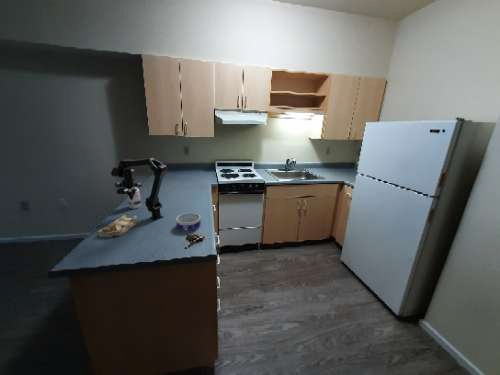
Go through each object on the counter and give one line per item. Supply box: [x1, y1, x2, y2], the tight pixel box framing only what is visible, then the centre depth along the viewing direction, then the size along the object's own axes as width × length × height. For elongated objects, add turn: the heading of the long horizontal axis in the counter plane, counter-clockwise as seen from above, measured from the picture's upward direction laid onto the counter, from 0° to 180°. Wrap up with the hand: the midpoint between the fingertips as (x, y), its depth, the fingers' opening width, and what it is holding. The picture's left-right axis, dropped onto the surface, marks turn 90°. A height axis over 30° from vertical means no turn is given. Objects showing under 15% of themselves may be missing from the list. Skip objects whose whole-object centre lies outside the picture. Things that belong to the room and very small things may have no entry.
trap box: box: [97, 214, 138, 238], centre depth 135 cm, size 24×12×3 cm, turn 173°
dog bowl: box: [175, 212, 202, 232], centre depth 140 cm, size 15×15×6 cm
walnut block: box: [101, 223, 117, 232], centre depth 128 cm, size 6×4×4 cm, turn 173°
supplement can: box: [127, 186, 142, 209], centre depth 165 cm, size 8×8×15 cm
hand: (131, 199), depth 150 cm, fingers closed
